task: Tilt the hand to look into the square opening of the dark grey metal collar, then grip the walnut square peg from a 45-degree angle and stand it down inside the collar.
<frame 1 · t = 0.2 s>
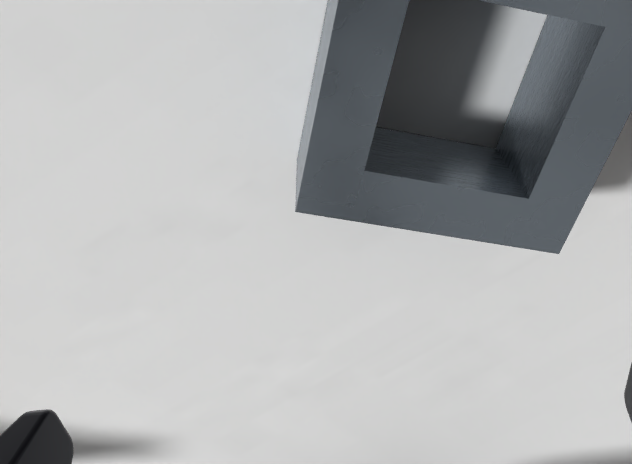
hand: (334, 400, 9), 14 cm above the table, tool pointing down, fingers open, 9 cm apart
square collar: (449, 64, 21), on the table
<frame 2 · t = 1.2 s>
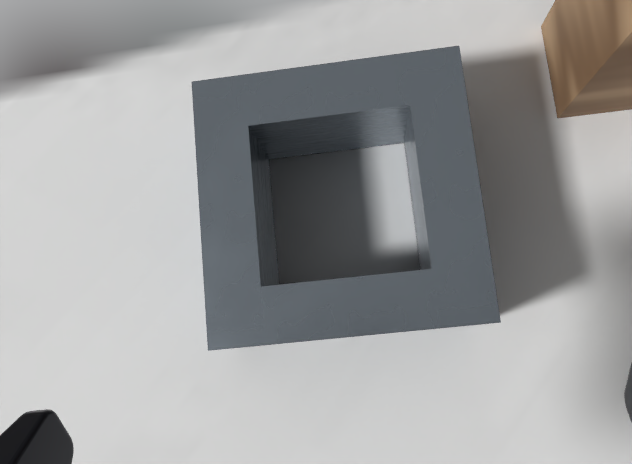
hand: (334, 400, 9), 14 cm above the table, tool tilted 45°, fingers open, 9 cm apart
square collar: (342, 217, 23), on the table
walnut peg: (600, 65, 23), on the table
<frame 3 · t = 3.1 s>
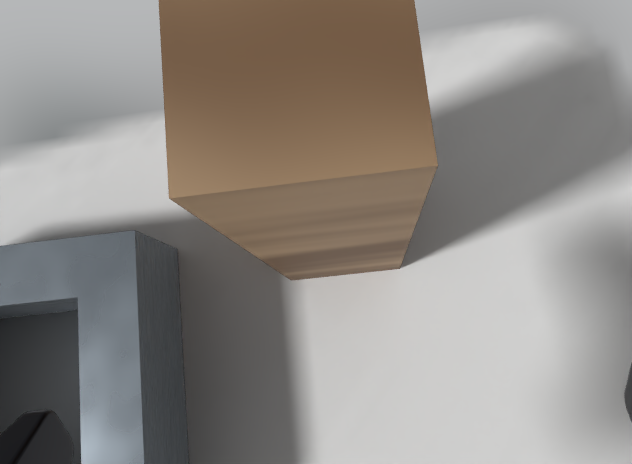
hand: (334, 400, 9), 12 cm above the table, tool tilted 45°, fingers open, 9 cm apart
square collar: (61, 387, 22), on the table
walnut peg: (339, 221, 22), on the table
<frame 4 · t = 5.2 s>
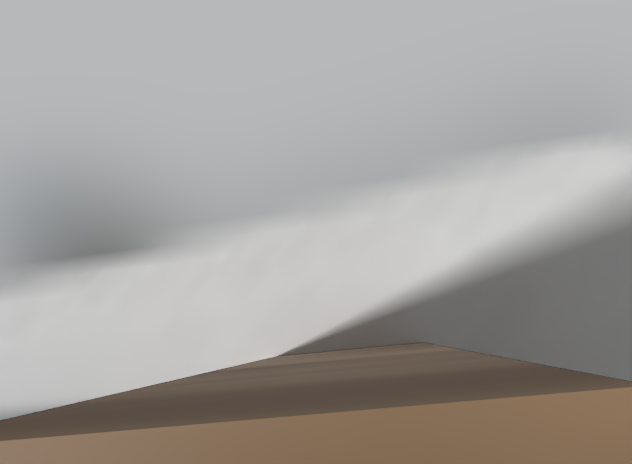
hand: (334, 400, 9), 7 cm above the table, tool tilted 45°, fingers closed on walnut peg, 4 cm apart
walnut peg: (357, 426, 15), on the table, touching gripper
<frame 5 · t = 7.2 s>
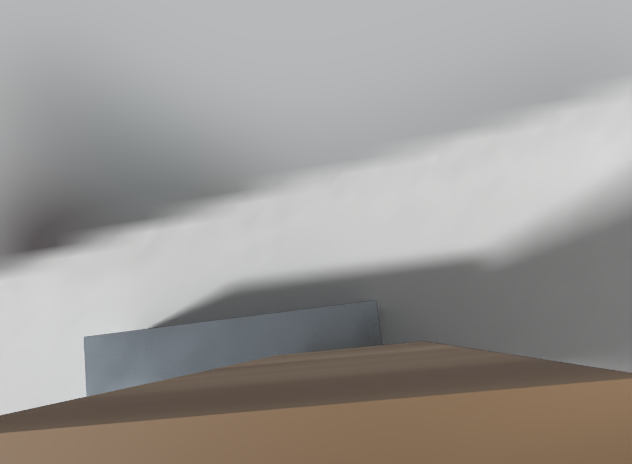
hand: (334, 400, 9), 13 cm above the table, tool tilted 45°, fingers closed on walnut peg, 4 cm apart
square collar: (265, 448, 21), on the table
walnut peg: (357, 425, 15), point 6 cm above the table, touching gripper
when the fingers open (8 cm above the table, at t = 9.4 s): walnut peg drops 1 cm, resting in square collar.
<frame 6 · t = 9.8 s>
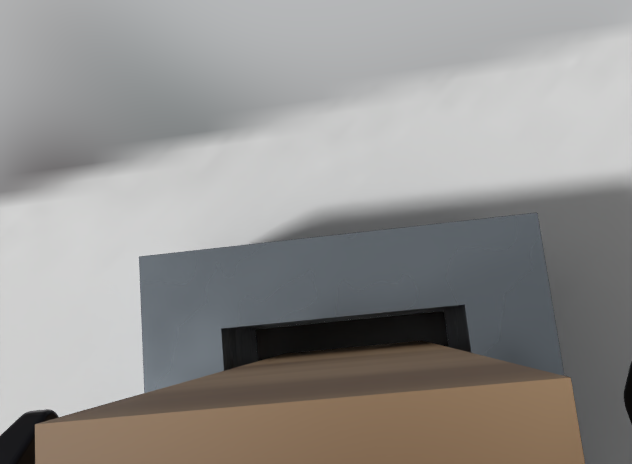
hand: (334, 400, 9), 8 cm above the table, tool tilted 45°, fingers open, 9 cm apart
square collar: (358, 418, 17), on the table
walnut peg: (360, 417, 17), resting in square collar
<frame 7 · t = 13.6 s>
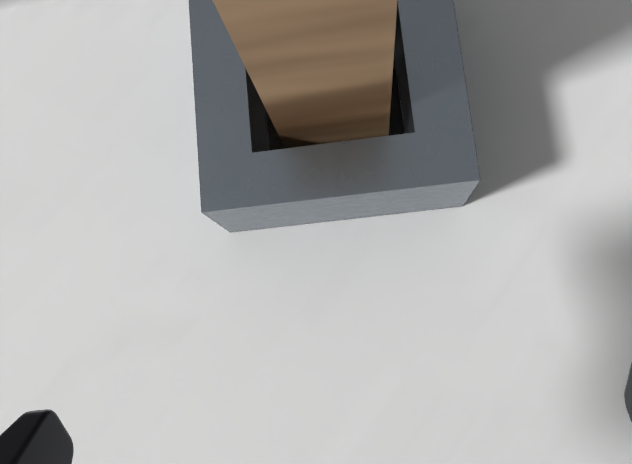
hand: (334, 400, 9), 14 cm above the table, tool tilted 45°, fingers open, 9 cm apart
square collar: (332, 109, 24), on the table
walnut peg: (334, 109, 24), resting in square collar
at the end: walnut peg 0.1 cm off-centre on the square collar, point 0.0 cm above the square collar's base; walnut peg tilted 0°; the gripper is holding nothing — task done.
